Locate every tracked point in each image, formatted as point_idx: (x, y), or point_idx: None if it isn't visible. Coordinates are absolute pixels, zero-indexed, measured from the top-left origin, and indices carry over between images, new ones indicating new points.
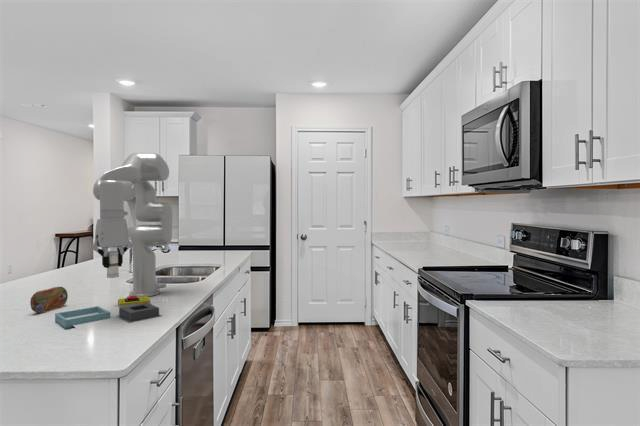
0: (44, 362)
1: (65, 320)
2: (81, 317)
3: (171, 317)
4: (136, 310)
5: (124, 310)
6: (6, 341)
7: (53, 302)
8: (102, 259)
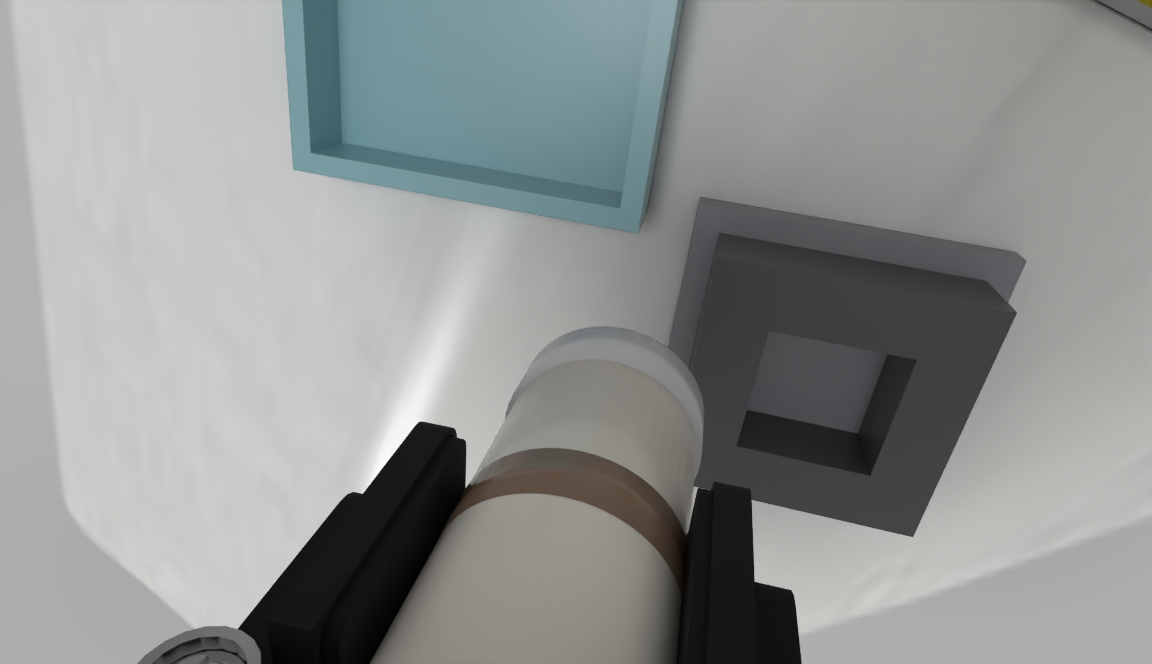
0: (177, 549)
1: (294, 169)
2: (405, 189)
3: (967, 523)
4: (742, 458)
5: (691, 370)
6: (26, 107)
7: None
8: (280, 592)
